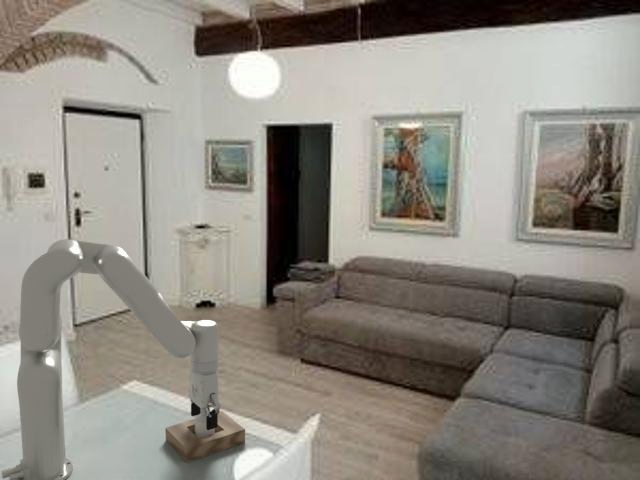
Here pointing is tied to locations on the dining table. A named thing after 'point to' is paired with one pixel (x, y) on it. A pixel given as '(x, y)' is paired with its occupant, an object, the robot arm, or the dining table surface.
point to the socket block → (204, 438)
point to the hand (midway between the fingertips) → (203, 421)
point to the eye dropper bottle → (202, 425)
